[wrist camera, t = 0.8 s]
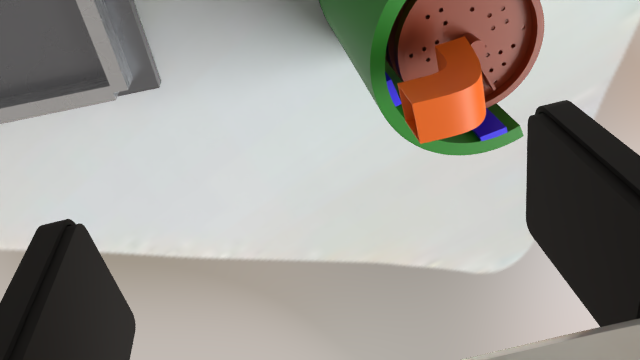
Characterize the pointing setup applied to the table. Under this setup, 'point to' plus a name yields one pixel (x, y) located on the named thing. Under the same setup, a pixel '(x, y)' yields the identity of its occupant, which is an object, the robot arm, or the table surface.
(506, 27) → the motor
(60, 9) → the cradle
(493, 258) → the table surface
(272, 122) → the table surface
